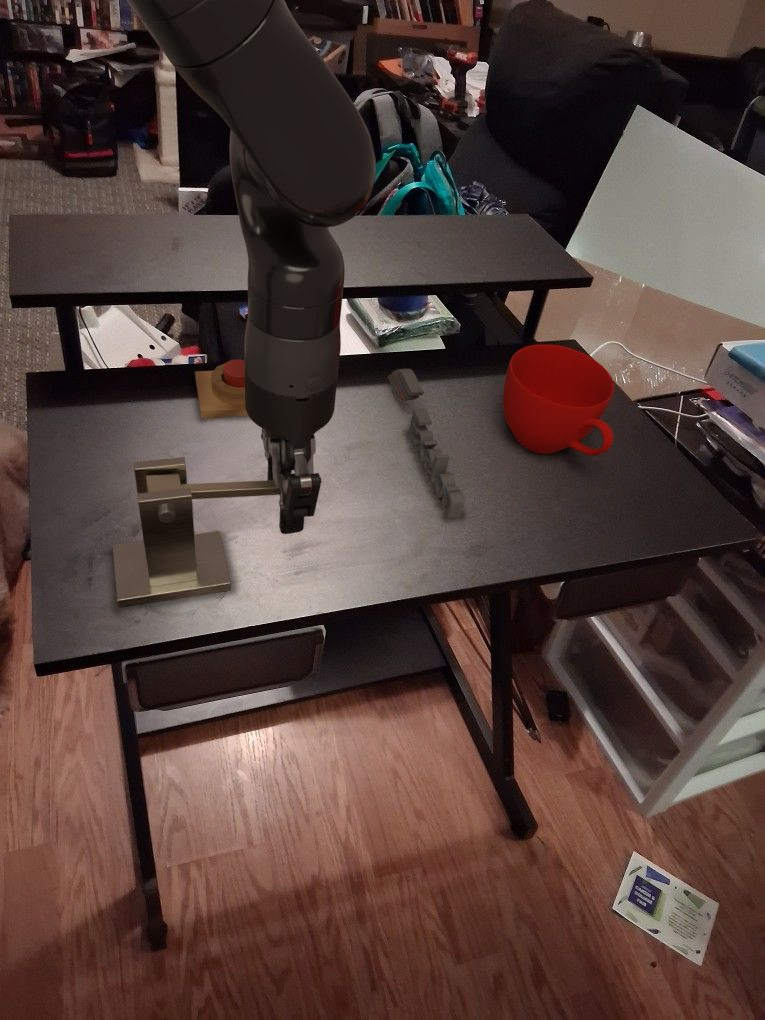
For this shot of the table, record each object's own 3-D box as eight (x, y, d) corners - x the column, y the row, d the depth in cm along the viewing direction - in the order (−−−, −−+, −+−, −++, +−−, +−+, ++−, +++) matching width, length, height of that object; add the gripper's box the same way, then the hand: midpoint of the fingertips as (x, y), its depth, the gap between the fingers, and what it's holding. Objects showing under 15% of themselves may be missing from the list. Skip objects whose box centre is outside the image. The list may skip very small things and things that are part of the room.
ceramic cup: (546, 503, 87) (574, 439, 80) (470, 416, 97) (489, 352, 90) (626, 477, 93) (659, 415, 85) (547, 398, 102) (570, 336, 95)
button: (225, 389, 90) (225, 377, 88) (222, 371, 92) (221, 359, 91) (255, 387, 90) (255, 376, 89) (251, 370, 93) (251, 358, 92)
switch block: (201, 418, 89) (200, 398, 87) (195, 378, 94) (194, 359, 92) (282, 413, 92) (283, 394, 90) (272, 375, 97) (273, 356, 95)
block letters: (385, 385, 99) (391, 350, 95) (396, 384, 100) (403, 349, 96) (447, 519, 83) (457, 483, 79) (460, 517, 84) (471, 482, 80)
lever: (285, 477, 72) (288, 459, 70) (296, 514, 68) (300, 496, 67) (144, 484, 67) (144, 464, 65) (149, 523, 64) (150, 504, 62)
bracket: (219, 538, 76) (217, 445, 67) (231, 590, 72) (229, 499, 63) (113, 552, 73) (95, 457, 64) (118, 608, 69) (99, 515, 60)
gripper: (230, 317, 62) (233, 463, 74) (262, 425, 53) (260, 572, 65) (316, 313, 65) (305, 455, 77) (361, 416, 55) (341, 559, 68)
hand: (284, 508), depth 71 cm, fingers closed on lever, 5 cm apart
